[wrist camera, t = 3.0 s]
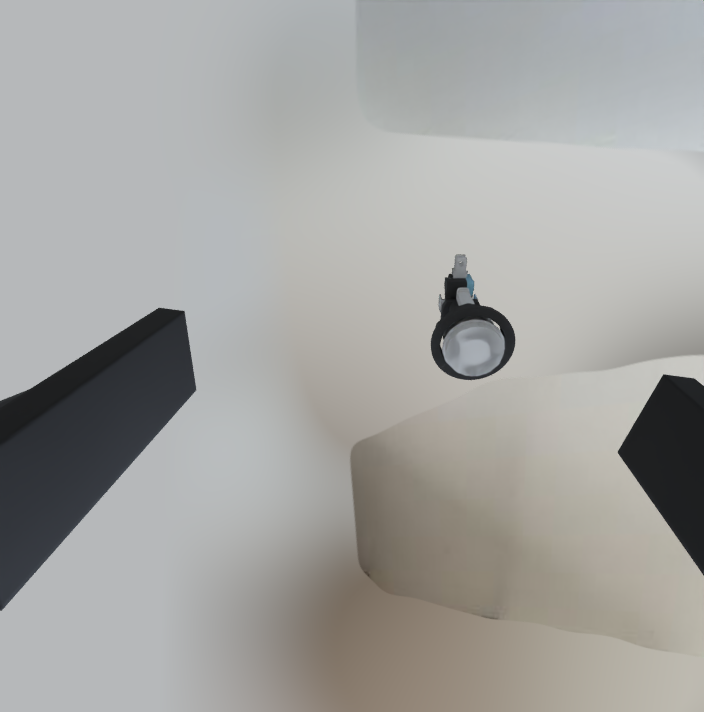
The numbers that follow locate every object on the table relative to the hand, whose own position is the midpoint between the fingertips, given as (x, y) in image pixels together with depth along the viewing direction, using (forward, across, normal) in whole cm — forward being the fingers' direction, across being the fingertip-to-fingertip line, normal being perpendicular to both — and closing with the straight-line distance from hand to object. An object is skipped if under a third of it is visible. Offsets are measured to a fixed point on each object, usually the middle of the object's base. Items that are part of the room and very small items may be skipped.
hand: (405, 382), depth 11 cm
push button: (+23, -5, +4) cm, 24 cm away
